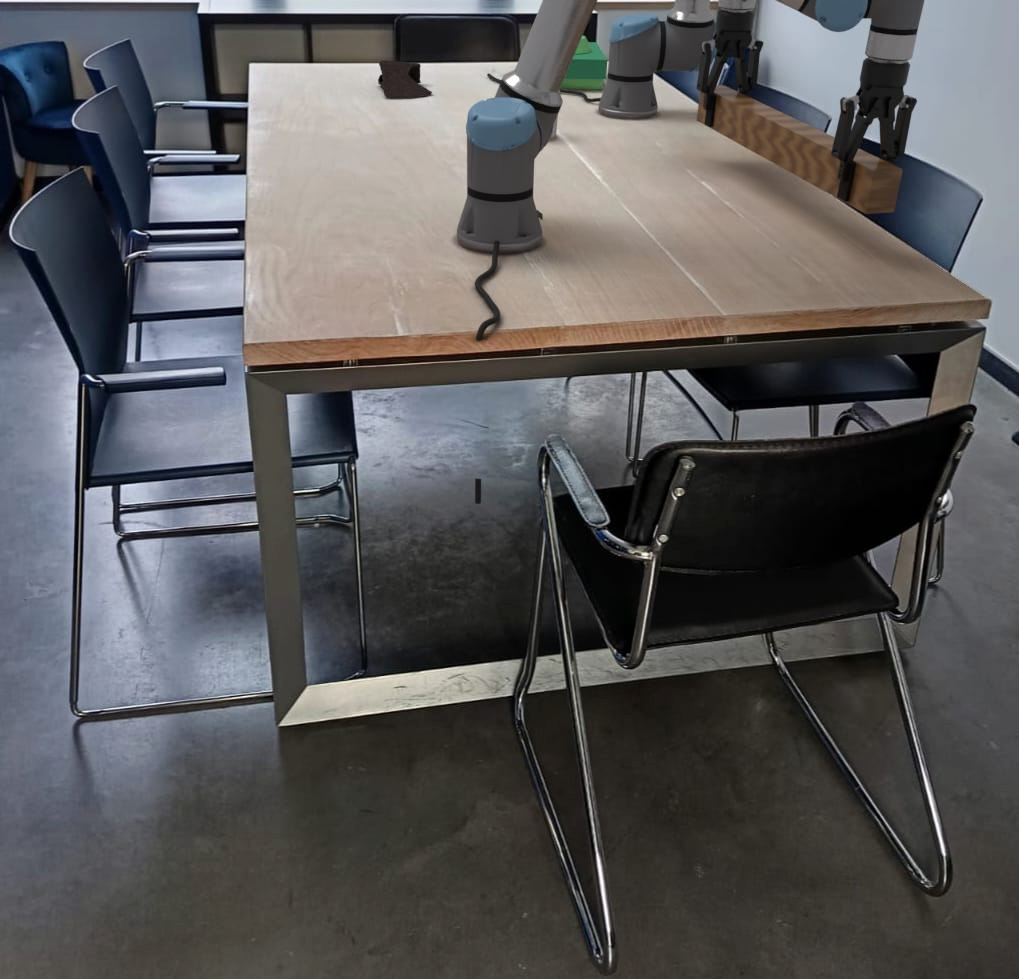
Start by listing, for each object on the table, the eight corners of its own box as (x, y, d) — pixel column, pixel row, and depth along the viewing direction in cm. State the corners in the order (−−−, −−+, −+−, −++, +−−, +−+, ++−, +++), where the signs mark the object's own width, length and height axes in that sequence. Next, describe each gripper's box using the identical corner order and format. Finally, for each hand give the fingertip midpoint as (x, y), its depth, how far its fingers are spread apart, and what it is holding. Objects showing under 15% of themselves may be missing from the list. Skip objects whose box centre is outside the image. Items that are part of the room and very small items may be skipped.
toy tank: (594, 24, 327) (608, 45, 298) (591, 67, 334) (605, 92, 304) (535, 23, 327) (543, 44, 297) (533, 66, 333) (541, 91, 303)
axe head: (443, 87, 294) (392, 77, 287) (436, 115, 299) (385, 106, 292) (421, 62, 307) (371, 52, 300) (414, 89, 311) (365, 80, 304)
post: (894, 212, 188) (903, 169, 184) (865, 214, 186) (874, 171, 183) (719, 119, 243) (723, 85, 239) (696, 120, 242) (700, 86, 238)
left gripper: (922, 53, 186) (892, 189, 198) (825, 55, 181) (800, 194, 193) (949, 62, 180) (916, 201, 192) (850, 64, 175) (823, 207, 187)
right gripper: (702, 13, 219) (690, 131, 231) (785, 11, 224) (768, 126, 236) (686, 7, 225) (675, 122, 237) (768, 5, 230) (752, 118, 242)
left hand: (858, 198), depth 192 cm, fingers closed on post, 6 cm apart
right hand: (722, 124), depth 237 cm, fingers closed on post, 6 cm apart
